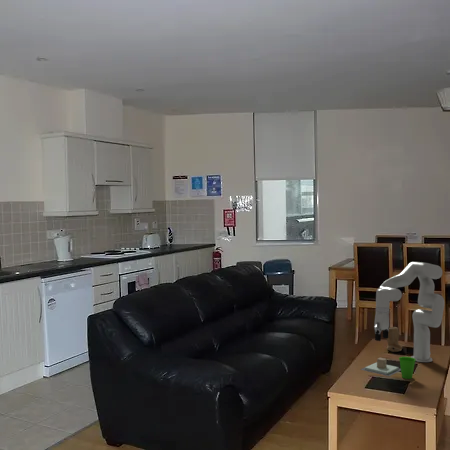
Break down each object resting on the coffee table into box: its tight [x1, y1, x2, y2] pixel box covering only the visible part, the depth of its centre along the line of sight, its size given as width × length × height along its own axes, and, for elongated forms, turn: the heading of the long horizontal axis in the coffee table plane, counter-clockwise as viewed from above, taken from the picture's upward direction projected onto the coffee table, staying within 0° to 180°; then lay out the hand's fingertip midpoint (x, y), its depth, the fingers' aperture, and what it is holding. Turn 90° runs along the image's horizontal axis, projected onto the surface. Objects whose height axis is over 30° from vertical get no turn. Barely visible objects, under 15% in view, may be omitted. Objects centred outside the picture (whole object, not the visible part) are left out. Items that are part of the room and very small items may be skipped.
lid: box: [364, 357, 399, 375], centre depth 308 cm, size 14×14×6 cm
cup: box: [398, 356, 417, 380], centre depth 293 cm, size 9×9×11 cm
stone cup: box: [385, 326, 403, 353], centre depth 354 cm, size 15×12×15 cm
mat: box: [360, 363, 401, 377], centre depth 308 cm, size 18×18×1 cm
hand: (381, 339), depth 307 cm, fingers open, 9 cm apart
